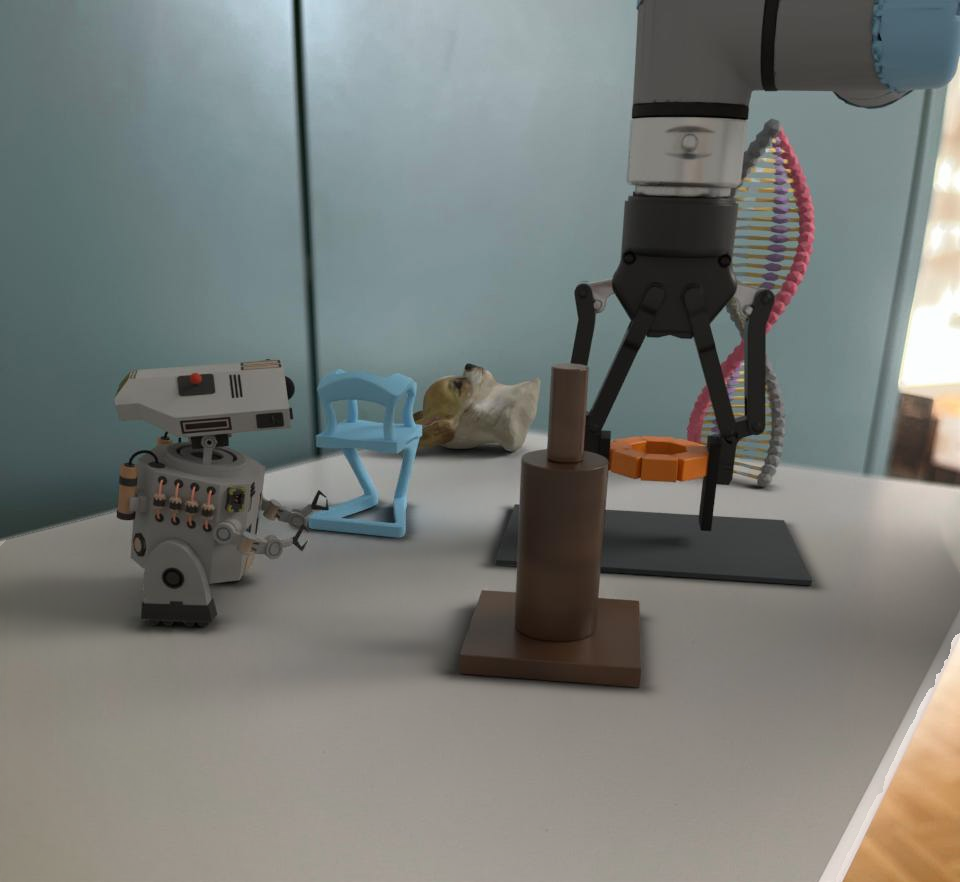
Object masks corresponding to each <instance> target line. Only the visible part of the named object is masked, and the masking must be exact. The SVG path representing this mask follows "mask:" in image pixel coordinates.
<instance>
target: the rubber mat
mask: <svg viewBox="0 0 960 882" xmlns="http://www.w3.org/2000/svg"><path fill="white" fill-rule="evenodd" d="M518 528H519V503H515V504H514V506H513V508H512V511H511V514H510V516H509V520H508V522H507V525H506V528H505V532H504V535H503V538H502V540H501V543H500V546H499V549H498V552H497V555H496V558H495V565H496V566H507V567H517V553H518ZM600 573H614V574H615V573H616V574H628V575H629V574H631V575H646V576H660V577H661V576H662V577H674V578H675V577H678V578H692V579H704V580H705V579H706V580H721V581H736V582H737V581H738V582H752V583H764V584H765V583H766V584H767V583H768V584H783V585H797V586H798V585H799V586H812V585H813V579H812V576H811V575H810V573H809V571H808V568H807V567H806V564H805V562H804V559H803V558H802V555H801V553H800V551H799V549H798V547H797V545H796V542H795V541H794V539H793V537H792V534H791V532H790V530H789V528H788V525H787V523H786V521H785V519H774V518H773V519H771V518H756V517H754V518H753V517H737V516H722V515H721V516H719V515H713V519H712V528H711V531H701V529H700V524H699V514H690V513H689V514H687V513H670V512H653V511H638V510H637V511H636V510H635V511H634V510H620V509H619V510H617V509H606V510H605V524H604V530H603V543H602V556H601V570H600Z"/></svg>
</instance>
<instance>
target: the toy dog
mask: <svg viewBox="0 0 960 882" xmlns="http://www.w3.org/2000/svg"><path fill="white" fill-rule="evenodd" d="M541 384H542V383H541V379H540V378H539V377H536V378H534V379H531V380H528V381H523V382H519V383H517V384H513V385H511V384H510V385H506V384H502V383H500V382H498V381H497V380H496V378H494V376H493V374H492V373H491V372H490V371H489V370H487V369H485V368H484V367H482V366H478V365H476V364H472V363H469V362H468V363H466V364H465V365H464V368H463V371H462V375H445V376H442V377H440V378H438V379H436V380H435V381H434V382H433V383H431V384H430V386H429V387H428V388H427V390H426V391H425V392H424V396H423V400H422V410H419V411H416V412H414V413H413V412H412V414H413V419H414V422H415V424H418V425H422V436H421V437H420V439H419V443H418V447H417V448H433V447H438V446H442V447H444V448H446V449H454V450H455V449H456V450H467V449H473V448H476V447H480V446H481V445H487V444H498V445H500V446H501V447H502V448H503V449H504V450H505V451H508V452H514V451H519V450H520V449H521V448H522V447H523V446H524V444H525V442H526V438H527V435H528V433H529V429H530V427H531V425H532V423H533V421H534V420H535V419H536V415H537V409H538V401H539V397H540V391H541V390H540V389H541Z"/></svg>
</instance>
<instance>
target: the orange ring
mask: <svg viewBox="0 0 960 882" xmlns="http://www.w3.org/2000/svg"><path fill="white" fill-rule="evenodd" d="M708 460H709V452H708V449H707V445H703V444H699V443H695V442H691V441H688V439H683V438H674V437H670V436H653V435H651V436H649V435H641V436H630V437H624V438H618V439H613V440H612V441H610V455H609V469H608V471H610V473H612V474H616V475H618V476H622V477H625V478H630V479H632V480H638V479H640V481H644V482H646V481H647V482H661V483H662V482H664V483H677V481H678V482H687V481H691V480H696V479H700V478H701V479H702V478H703V477H705V475H707V469H708Z"/></svg>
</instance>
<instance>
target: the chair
mask: <svg viewBox="0 0 960 882" xmlns="http://www.w3.org/2000/svg"><path fill="white" fill-rule="evenodd" d="M417 386H418V382H417V381H415V380H414V379H413V378H412V377H409V376H406V375H404V374H402V373H399V372H397V373H393V374H392V375H389V376H380V375H378V374H375V373H374V374H373V373H370V372H367V371H362V370H350V371H345V370H344V369H342V368H339V369H336V370H333V371H330V372H328V373H327V374H325V375H324V376H323V377H322V378H321V379H320V382H319V383H318V386H317V388H316V391H317V393H318V396H319V399H320V402H321V405H322V407H323V410H324V414H325V426H324V430H323V431H322V432H319V433H318V434H316V435H315V446H316V448H323V449H340V450H341V452H342V453H343V455H344V457H345V459H346V460H347V462H348V464H349V466H350V468H351V469H352V472H353V473H354V475H355V477H356V479H357V481H358V484H359V485H360V487H361V489H362V490H363V494H361V495H360V496H357V497H354V498H352V499H349V500H347V501H344V502H341V503H337V504H335V505H331V506H328V507H329V510H317V511H315V512H313V513H311V514H309V515H308V528H309V529H312V530H319V531H328V532H336V533H337V532H338V533H349V534H358V535H367V536H375V537H376V536H378V537H386V538H397V539H399V538H403V537H404V536H406V532H407V515H406V512H407V511H406V510H407V507H408V501H407V500H408V499H407V495H408V490H409V485H410V481H411V478H412V472H413V467H414V463H415V459H416V456H417V455H416V454H417V450H418V448H419V447H418V443H419V439H420V437H421V436H422V425H418V424H415V422H414V419H413V414H414V413H413V411H414V403H415V400H416V396H417ZM405 394H407V396H406V398H405V401H404V404H403V407H402V412H401V416H402V422H403V423H395V411H396V408H397V407H396V406H397V405H398V403H399V402H400V401H401V399H402V398H403V396H404V395H405ZM338 401H346V402H347V413H346V414H347V415H346V418H345V419H343V420H342V421H340V422H338V419H337V418H338V417H337V414H336V411H335V410H334V407H333V405H332V402H338ZM358 401H365V402H370V403H374V404H376V405H377V404H378V405H381V406H383V407H385V412H384V416H383V422H376V421H371V420H363V419H359V407H358ZM412 413H413V414H412ZM358 449H359V450H367V451H372V452H374V453H375V452H376V453H382V454H393V455H398V454H399V453H400V452H402V460H401V466H400V470H399V475H398V479H397V483H396V487H395V491H394V495H393V501H392V502H393V503H392V504H393V518H394V522H386V521H385V522H384V521H375V520H374V521H373V520H366V519H356V518H355V519H354V518H345V517H348V516H352V515H354V514H357V513H360V512H362V511H365V510H368V509H370V508H372V507H375V506H377V505H378V504H379V494H378V491H377V488H376V487H375V485H374V483H373V481H372V479H371V477H370V475H369V473H368V471H367V469H366V468H365V466H364V465H365V464H364V463H363V462H362V459H361V457H360V455H359V452H358Z"/></svg>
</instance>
